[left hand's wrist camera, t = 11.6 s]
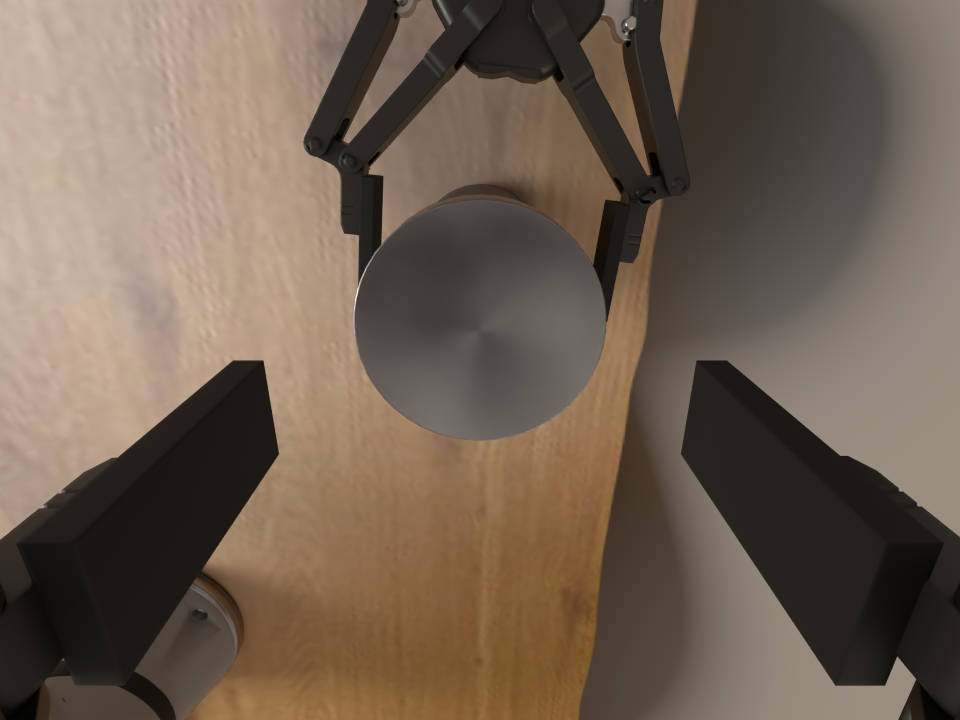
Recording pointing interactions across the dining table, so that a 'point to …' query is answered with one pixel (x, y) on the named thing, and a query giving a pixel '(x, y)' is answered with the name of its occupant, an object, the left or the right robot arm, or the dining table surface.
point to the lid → (480, 318)
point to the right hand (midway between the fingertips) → (483, 304)
